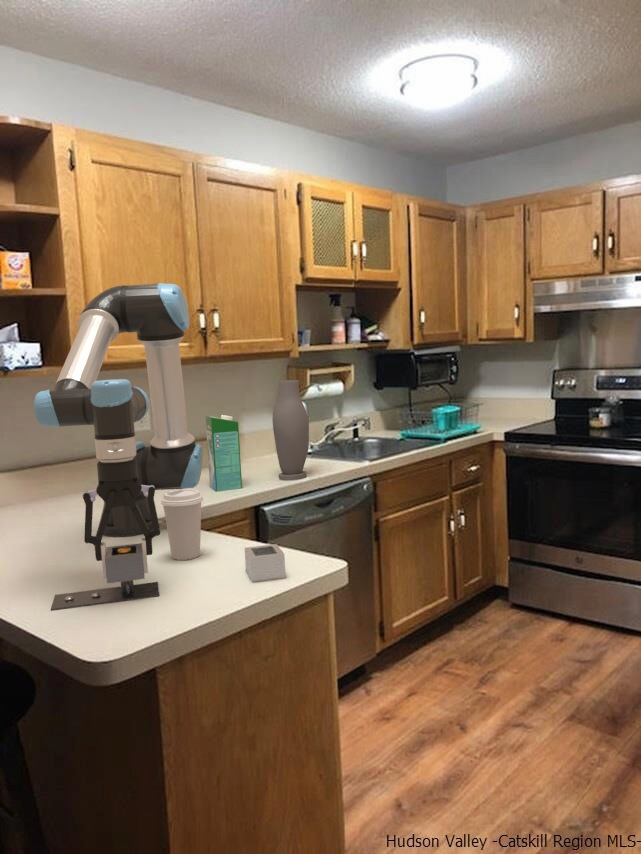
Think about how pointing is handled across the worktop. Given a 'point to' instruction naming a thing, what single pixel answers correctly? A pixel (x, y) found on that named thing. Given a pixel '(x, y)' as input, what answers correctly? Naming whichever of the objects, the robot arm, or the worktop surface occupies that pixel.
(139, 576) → the grey hollow block
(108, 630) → the worktop surface
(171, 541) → the coffee cup
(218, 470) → the milk carton
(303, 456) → the vase
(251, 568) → the link
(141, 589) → the keeper
